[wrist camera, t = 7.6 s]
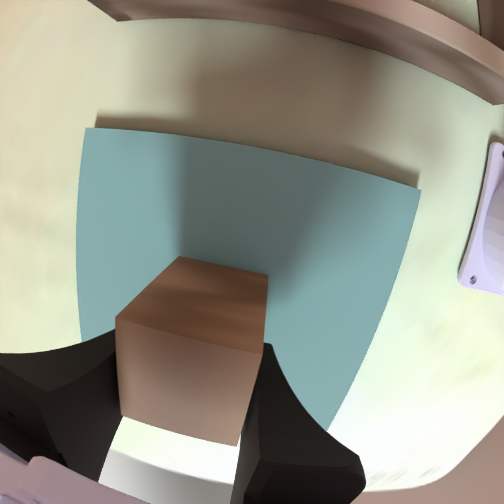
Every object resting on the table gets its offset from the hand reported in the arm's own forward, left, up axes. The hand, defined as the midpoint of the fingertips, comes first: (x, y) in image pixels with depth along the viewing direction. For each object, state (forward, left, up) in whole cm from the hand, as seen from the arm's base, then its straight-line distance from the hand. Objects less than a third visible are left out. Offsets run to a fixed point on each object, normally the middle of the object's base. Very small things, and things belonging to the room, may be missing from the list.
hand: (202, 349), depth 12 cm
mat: (0, 0, -3) cm, 3 cm away
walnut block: (0, -1, -2) cm, 2 cm away
